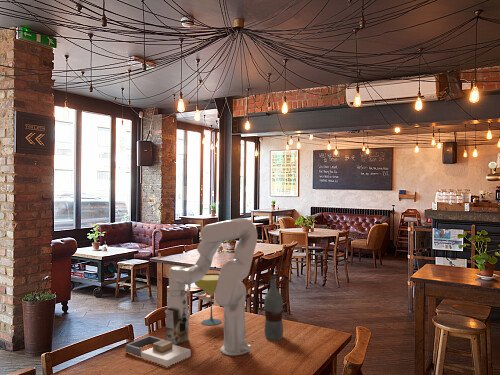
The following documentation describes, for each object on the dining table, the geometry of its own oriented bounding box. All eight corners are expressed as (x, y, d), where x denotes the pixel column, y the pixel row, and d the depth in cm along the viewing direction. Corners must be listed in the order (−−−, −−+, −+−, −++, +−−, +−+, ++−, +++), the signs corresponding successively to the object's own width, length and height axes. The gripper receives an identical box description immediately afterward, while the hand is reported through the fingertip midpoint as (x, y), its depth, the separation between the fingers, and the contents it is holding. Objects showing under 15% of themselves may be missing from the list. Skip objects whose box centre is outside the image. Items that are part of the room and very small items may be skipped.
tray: (164, 348, 195) (164, 339, 195) (140, 358, 183) (140, 349, 183) (149, 344, 201) (149, 335, 201) (125, 353, 189) (125, 344, 189)
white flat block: (190, 356, 185) (190, 349, 185) (167, 367, 174) (166, 360, 174) (165, 348, 195) (164, 342, 195) (141, 358, 183) (140, 351, 183)
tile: (172, 349, 186) (172, 342, 186) (162, 353, 181) (162, 346, 181) (163, 346, 190) (162, 339, 190) (152, 350, 185) (152, 343, 185)
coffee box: (174, 345, 198) (174, 311, 198) (165, 342, 202) (165, 308, 202) (189, 340, 205) (188, 306, 205) (180, 337, 210) (179, 304, 210)
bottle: (262, 340, 204) (262, 278, 204) (266, 333, 213) (265, 274, 213) (281, 341, 202) (281, 278, 202) (284, 335, 211) (284, 275, 211)
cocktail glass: (234, 320, 235) (233, 275, 235) (215, 329, 220) (214, 281, 220) (207, 315, 245) (207, 272, 245) (188, 324, 229) (187, 278, 229)
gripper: (195, 293, 202) (195, 330, 202) (169, 288, 212) (170, 324, 212) (184, 296, 196) (184, 335, 196) (158, 291, 206) (159, 328, 206)
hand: (177, 329), depth 204 cm, fingers closed on coffee box, 6 cm apart
